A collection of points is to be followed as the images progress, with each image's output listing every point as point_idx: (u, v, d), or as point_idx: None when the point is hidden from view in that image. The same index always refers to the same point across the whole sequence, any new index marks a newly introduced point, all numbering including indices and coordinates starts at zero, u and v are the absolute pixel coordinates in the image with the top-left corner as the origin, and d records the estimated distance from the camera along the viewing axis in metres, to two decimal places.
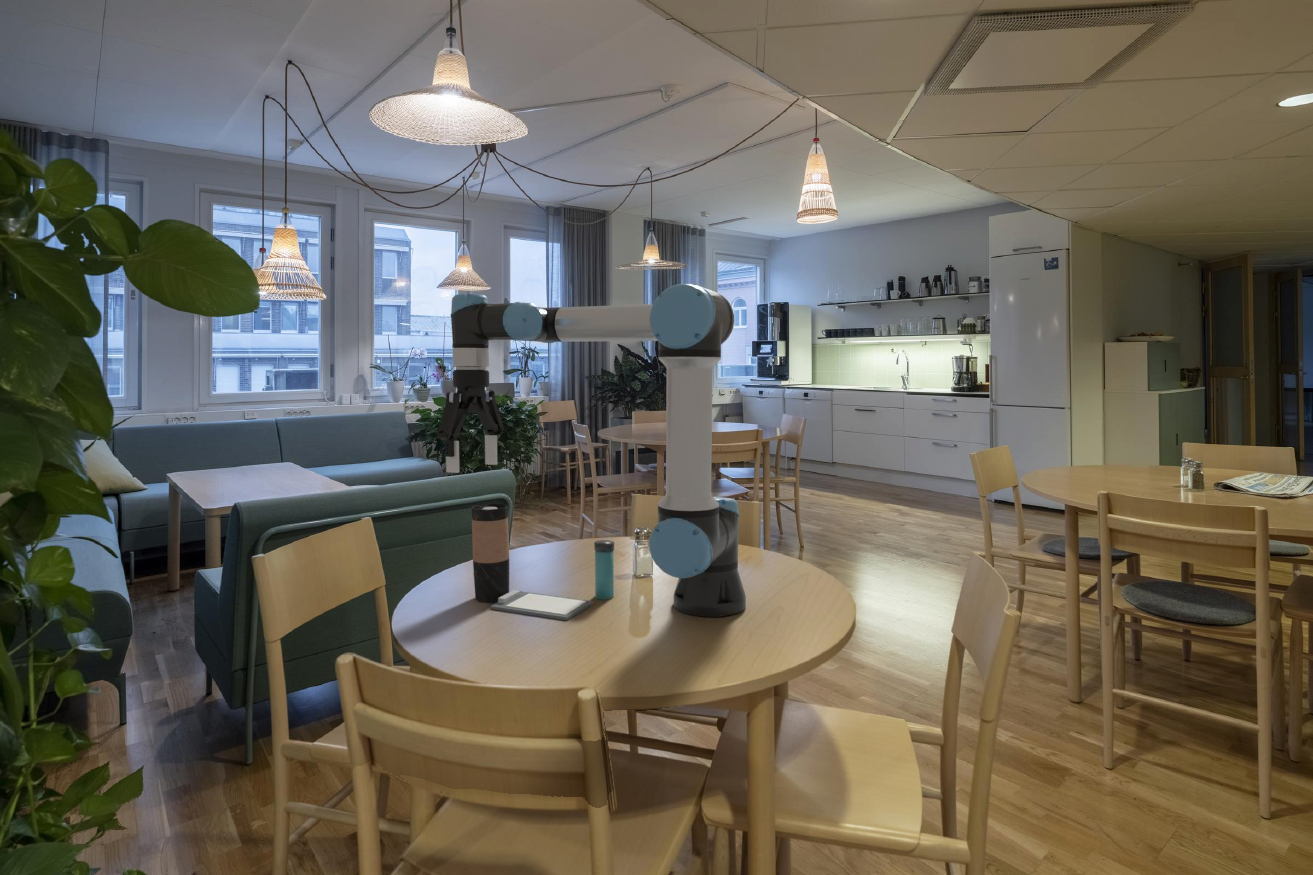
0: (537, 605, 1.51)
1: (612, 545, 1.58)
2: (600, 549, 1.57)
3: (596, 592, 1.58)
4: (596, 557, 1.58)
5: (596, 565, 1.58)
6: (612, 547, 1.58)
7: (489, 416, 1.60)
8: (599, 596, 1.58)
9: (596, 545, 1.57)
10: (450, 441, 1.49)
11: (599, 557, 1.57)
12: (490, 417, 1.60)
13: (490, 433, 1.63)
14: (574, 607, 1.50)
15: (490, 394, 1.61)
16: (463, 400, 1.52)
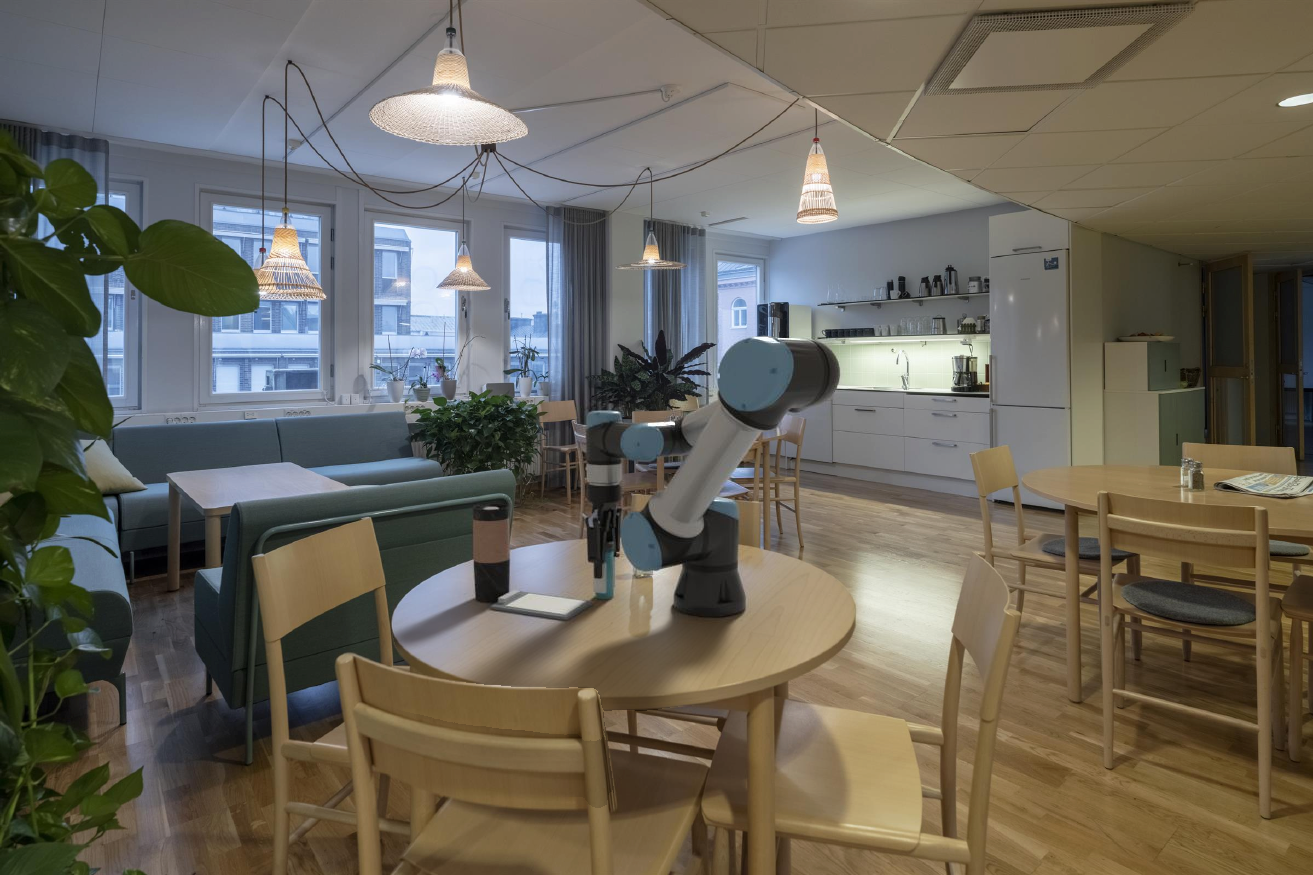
0: (537, 605, 1.51)
1: (612, 545, 1.58)
2: None
3: (596, 592, 1.58)
4: None
5: None
6: (612, 547, 1.58)
7: (613, 533, 1.60)
8: (599, 596, 1.58)
9: None
10: (599, 564, 1.55)
11: None
12: (614, 535, 1.60)
13: None
14: (574, 607, 1.50)
15: (618, 510, 1.63)
16: (600, 517, 1.55)
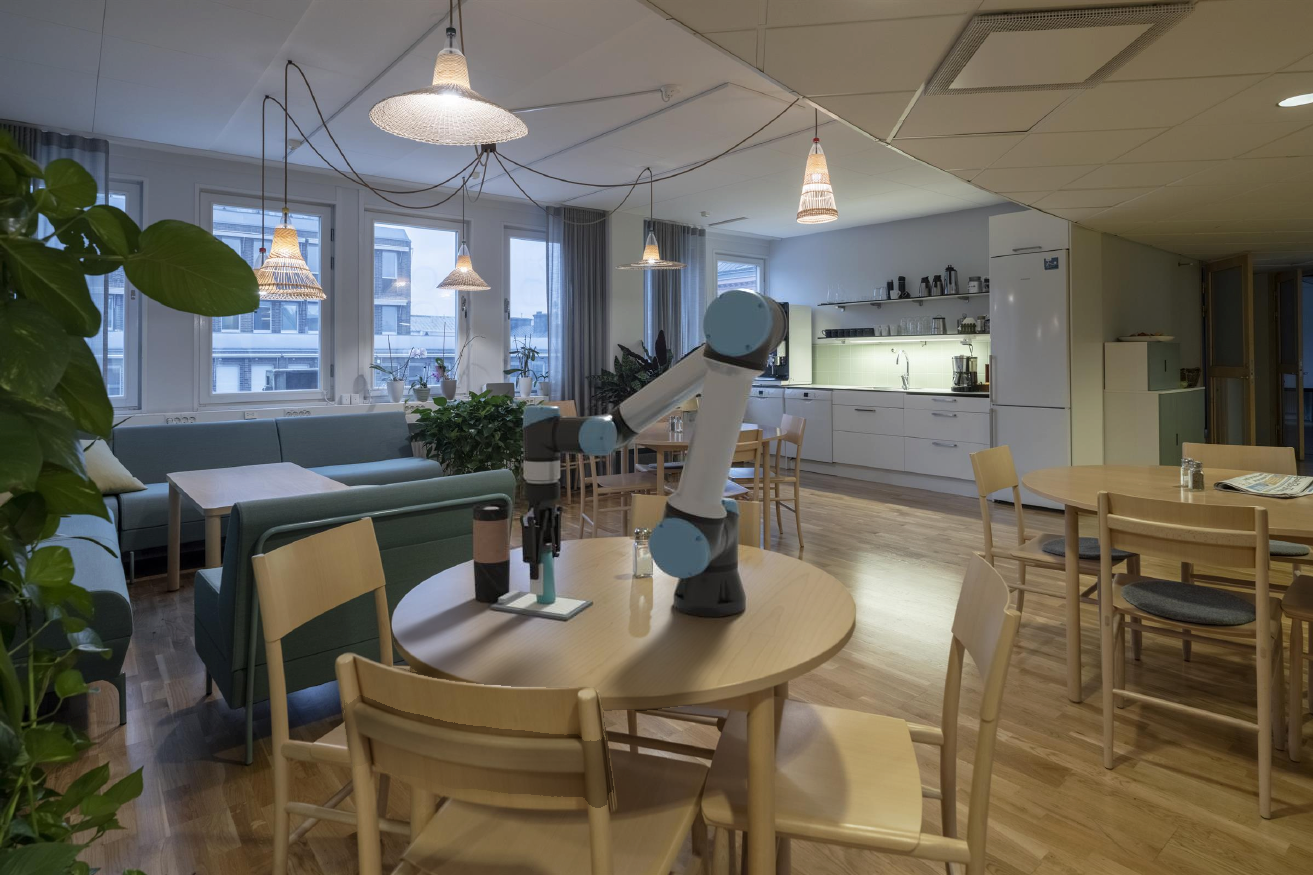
0: (537, 605, 1.51)
1: (551, 545, 1.52)
2: None
3: (538, 597, 1.52)
4: None
5: None
6: (551, 547, 1.52)
7: (552, 533, 1.54)
8: (542, 600, 1.52)
9: None
10: (535, 565, 1.49)
11: None
12: (553, 534, 1.54)
13: None
14: (574, 607, 1.50)
15: (558, 508, 1.57)
16: (536, 516, 1.49)
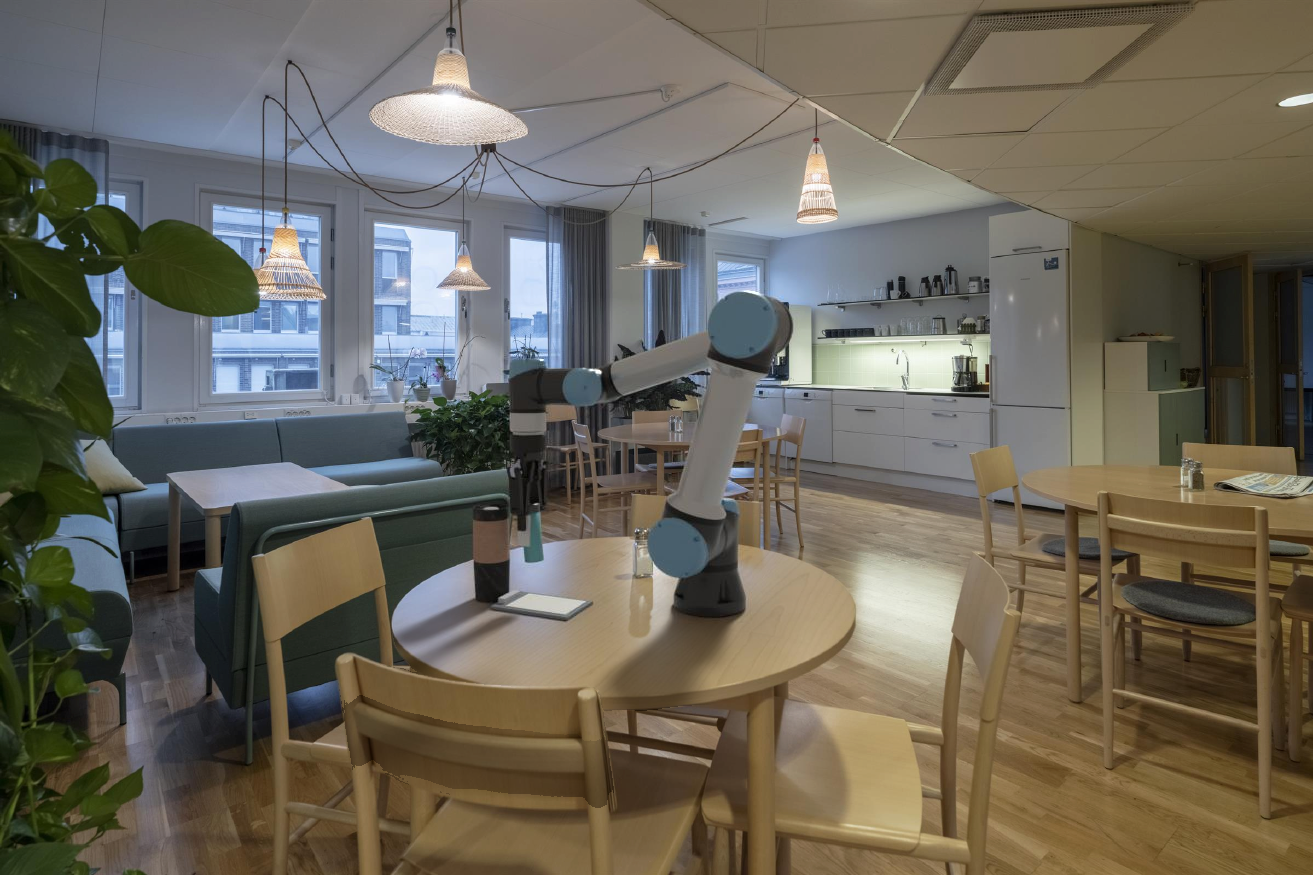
0: (537, 605, 1.51)
1: (538, 506, 1.53)
2: None
3: (525, 556, 1.53)
4: None
5: None
6: (538, 508, 1.53)
7: (539, 486, 1.55)
8: (529, 560, 1.53)
9: None
10: (523, 516, 1.51)
11: None
12: (539, 488, 1.56)
13: None
14: (574, 607, 1.50)
15: (544, 463, 1.58)
16: (523, 467, 1.50)
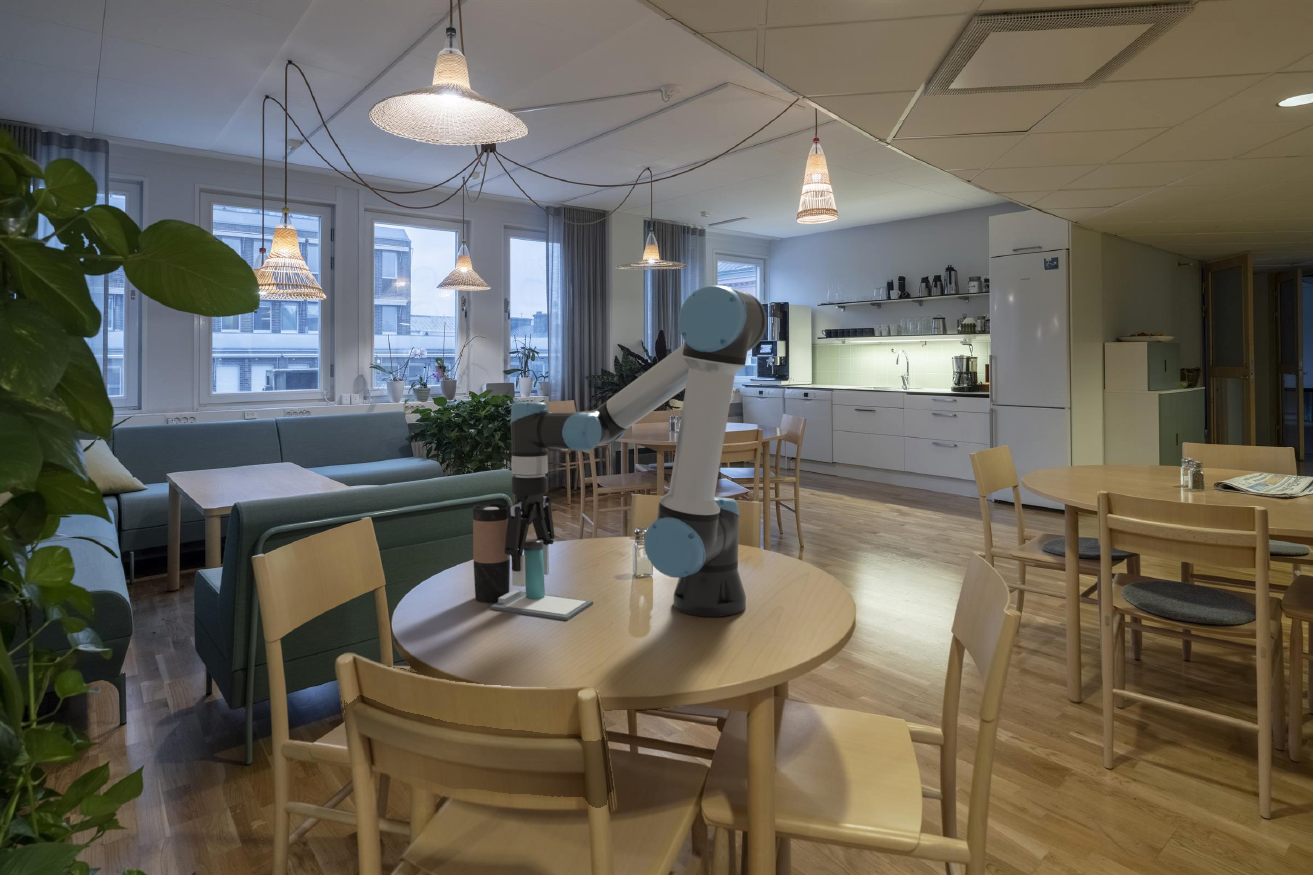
0: (537, 605, 1.51)
1: (539, 544, 1.55)
2: (526, 548, 1.54)
3: (526, 592, 1.56)
4: None
5: None
6: (539, 546, 1.55)
7: (544, 523, 1.59)
8: (528, 596, 1.55)
9: None
10: (517, 556, 1.50)
11: (526, 556, 1.55)
12: (544, 524, 1.59)
13: None
14: (574, 607, 1.50)
15: (547, 500, 1.60)
16: (524, 509, 1.52)
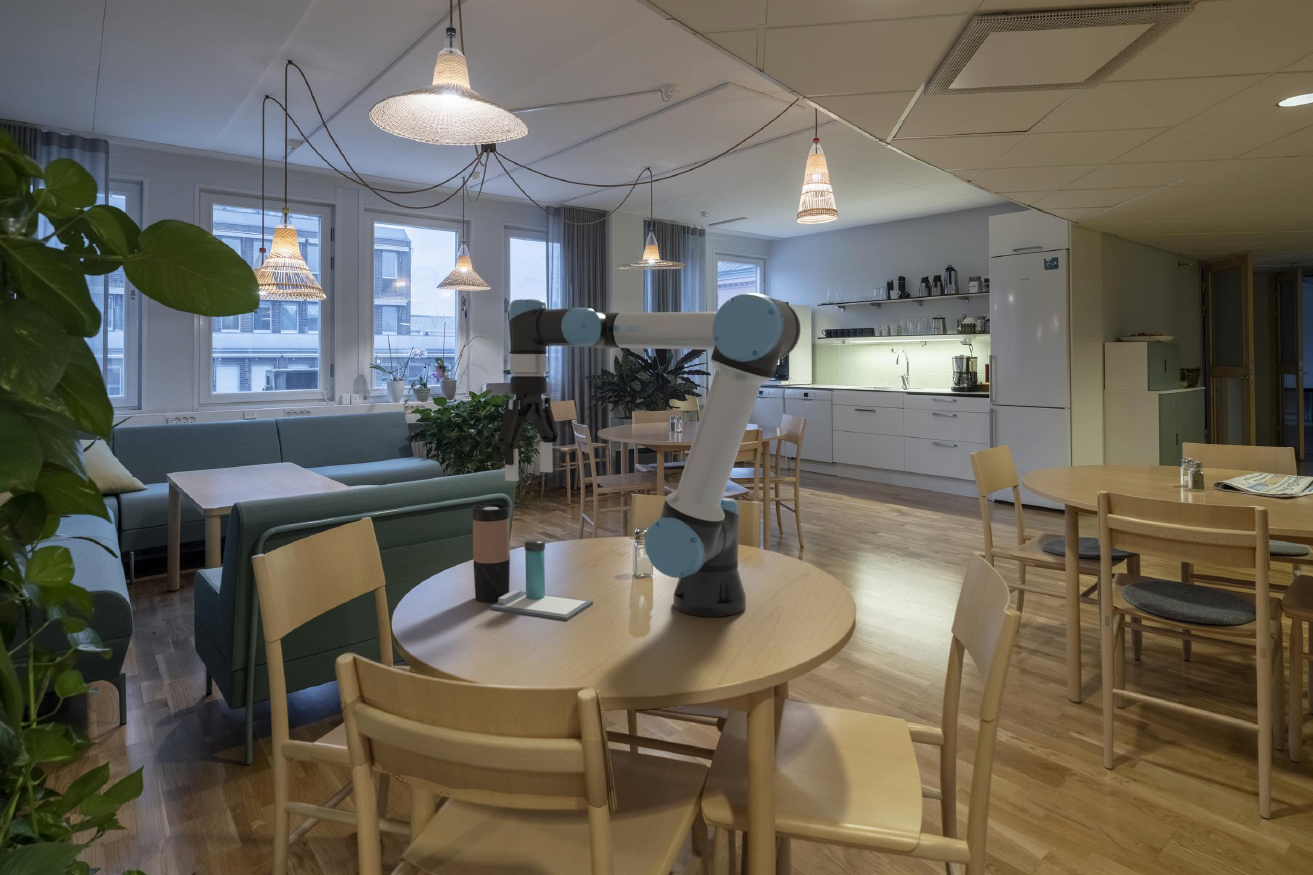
0: (537, 605, 1.51)
1: (541, 545, 1.54)
2: (528, 548, 1.54)
3: (526, 592, 1.56)
4: (525, 556, 1.55)
5: (526, 564, 1.55)
6: (541, 547, 1.54)
7: (545, 423, 1.58)
8: (528, 596, 1.55)
9: (525, 544, 1.55)
10: (510, 449, 1.46)
11: (528, 556, 1.54)
12: (546, 424, 1.58)
13: (545, 440, 1.61)
14: (574, 607, 1.50)
15: (546, 401, 1.58)
16: (522, 407, 1.50)
